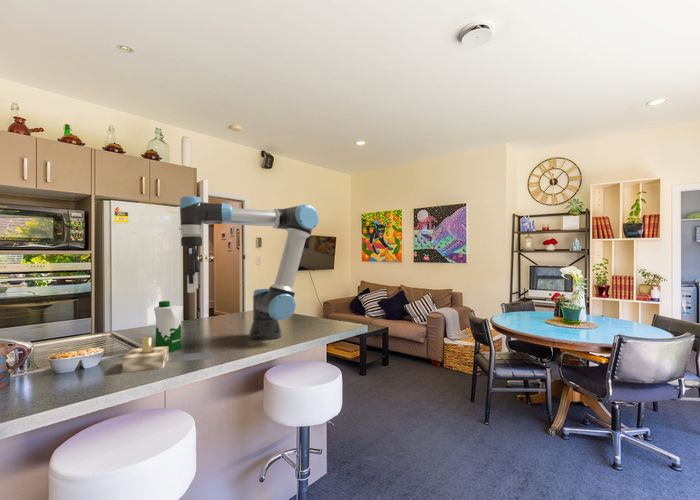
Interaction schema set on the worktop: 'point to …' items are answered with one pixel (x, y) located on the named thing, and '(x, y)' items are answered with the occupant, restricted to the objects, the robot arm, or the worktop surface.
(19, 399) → the worktop surface
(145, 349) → the brass pin
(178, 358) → the mat
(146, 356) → the hole block
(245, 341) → the worktop surface
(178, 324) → the milk carton
